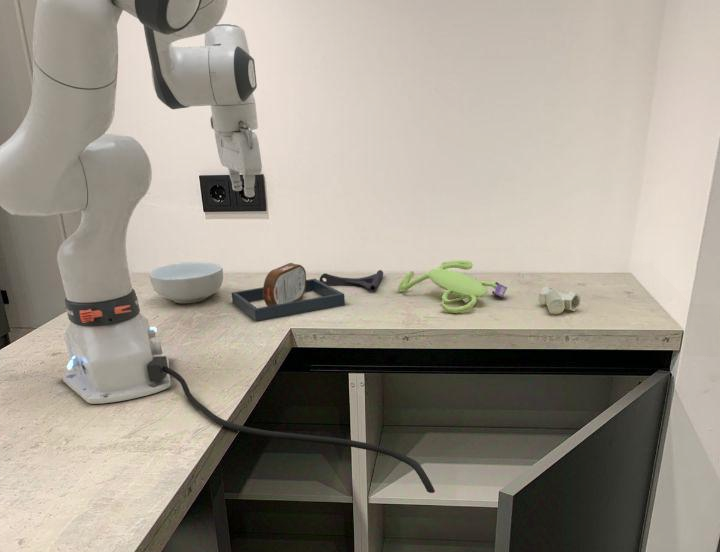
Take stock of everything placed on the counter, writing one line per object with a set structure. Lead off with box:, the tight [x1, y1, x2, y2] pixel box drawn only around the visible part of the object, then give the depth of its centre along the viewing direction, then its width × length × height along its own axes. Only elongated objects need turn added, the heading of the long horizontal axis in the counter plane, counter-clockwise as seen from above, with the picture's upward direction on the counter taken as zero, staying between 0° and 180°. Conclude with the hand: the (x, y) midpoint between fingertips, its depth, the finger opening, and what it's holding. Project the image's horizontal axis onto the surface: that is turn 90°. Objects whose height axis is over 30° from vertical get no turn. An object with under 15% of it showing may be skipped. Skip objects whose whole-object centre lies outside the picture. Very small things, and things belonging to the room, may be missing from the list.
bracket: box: [318, 269, 384, 293], centre depth 179 cm, size 14×15×3 cm
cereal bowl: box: [148, 261, 224, 304], centre depth 173 cm, size 17×17×7 cm
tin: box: [263, 262, 307, 307], centre depth 165 cm, size 15×3×8 cm, turn 153°
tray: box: [230, 278, 346, 322], centre depth 167 cm, size 17×21×2 cm
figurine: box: [397, 260, 508, 314], centre depth 165 cm, size 18×27×6 cm
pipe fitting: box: [538, 286, 582, 315], centre depth 152 cm, size 8×4×7 cm
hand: (243, 193), depth 154 cm, fingers open, 8 cm apart
